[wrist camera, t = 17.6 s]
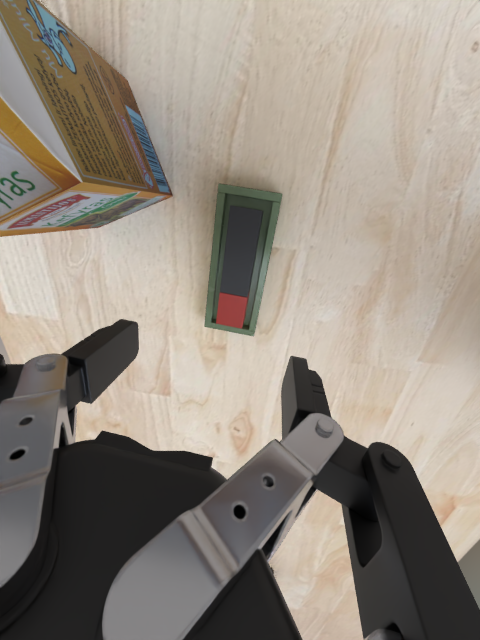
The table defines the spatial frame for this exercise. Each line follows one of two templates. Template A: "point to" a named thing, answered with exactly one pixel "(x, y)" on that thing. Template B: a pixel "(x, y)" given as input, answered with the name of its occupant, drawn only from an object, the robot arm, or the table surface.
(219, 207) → the tray
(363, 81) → the table surface
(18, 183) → the milk carton
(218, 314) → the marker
